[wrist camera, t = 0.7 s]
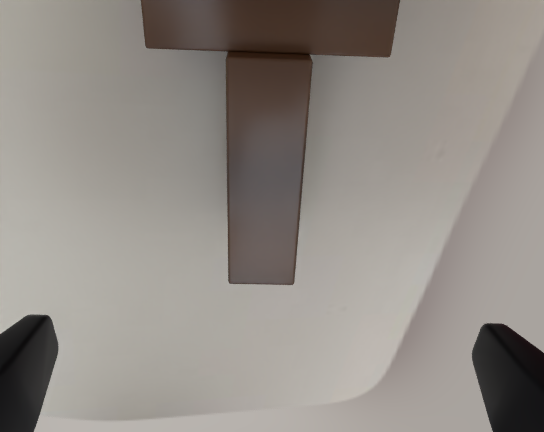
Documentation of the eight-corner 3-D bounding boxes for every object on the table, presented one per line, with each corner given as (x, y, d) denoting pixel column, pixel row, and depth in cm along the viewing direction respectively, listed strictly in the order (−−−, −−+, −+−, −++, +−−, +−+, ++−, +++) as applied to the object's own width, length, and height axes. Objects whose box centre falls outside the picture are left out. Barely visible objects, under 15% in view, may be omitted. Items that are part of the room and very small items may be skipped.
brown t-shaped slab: (341, 230, 20) (356, 287, 17) (180, 226, 20) (164, 283, 17) (394, -145, 13) (437, -171, 10) (151, -158, 13) (114, -189, 10)
